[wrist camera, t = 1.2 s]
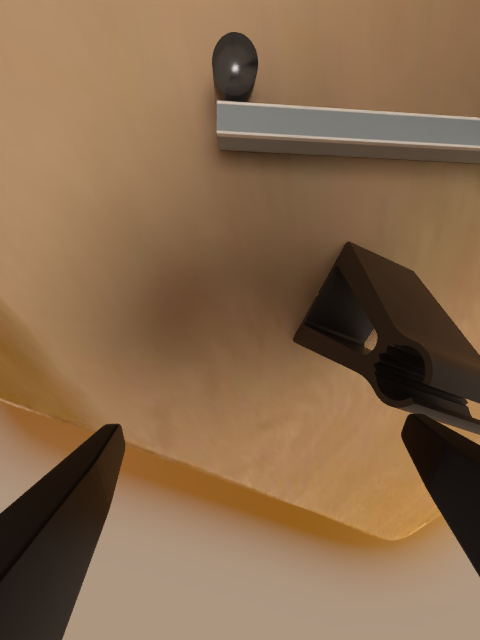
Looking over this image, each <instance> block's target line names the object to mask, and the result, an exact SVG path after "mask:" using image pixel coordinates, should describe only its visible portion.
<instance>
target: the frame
mask: <svg viewBox="0 0 480 640" xmlns="http://www.w3.org/2000/svg"><path fill="white" fill-rule="evenodd" d="M212 67H213V78H214V88H215V99H216V107H217V101H231V102H247V103H250V99H251V95H252V91H253V87H254V83H255V78H256V74H257V70H258V57H257V53H256V50H255V47H254V45H253V44H252V42H251V41H250V40H249V38H248V37H246V36H245V35H243V34H241V33H238V32H231V33H228V34H226V35H224V36H223V37H222V38H221V39H220V40H219V41H218V42H217V44H216V46H215V49H214V52H213V57H212Z"/></svg>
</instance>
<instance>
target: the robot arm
mask: <svg viewBox="0 0 480 640" xmlns="http://www.w3.org/2000/svg"><path fill="white" fill-rule="evenodd" d="M401 437H402V440H403V442H404V444H405V446H406V448H407V450H408V452H409V454H410V456H411V458H412V461H413V463H414V465H415V467H416V469H417V471H418V473H419V475H420V477H421V479H422V481H423V483H424V484H425V486H426V488H427V490H428V492H429V494H430V495H431V497H432V499H433V501H434V502H435V504H436V505H437V507H438V509H439V510H440V512H441V514H442V515H443V517H444V519H445V520H446V522H447V524H448V525H449V527H450V529H451V530H452V532H453V534H454V535H455V537H456V538H457V540H458V542H459V543H460V545H461V547H462V548H463V550H464V552H465V553H466V555H467V557H468V558H469V560H470V561H471V563H472V565H473V567H474V568H475V570H476V572H477V573H478V575H479V576H480V445H478V444H477V443H475V442H473V441H471V440H469V439H468V438H466V437H464V436H462V435H460V434H459V433H457V432H455V431H453V430H451V429H450V428H448V427H446V426H444V425H442V424H441V423H439V422H437V421H435V420H433V419H432V418H430V417H428V416H426V415H424V414H409V415H408V416H407V418H406V421H405V424H404V426H403V429H402V432H401ZM124 452H125V440H124V436H123V431H122V427H121V425H120V424H106V425H104V426H103V427H101V428H100V429H99V430H98V431H97V432H95V433H94V434H93V435H92V436H91V437H90V438H88V439H87V440H86V441H85V442H84V443H83V444H81V445H80V446H79V447H78V448H77V449H76V450H75V451H73V452H72V453H71V454H70V455H69V456H67V457H66V458H65V459H64V460H63V461H62V462H60V463H59V464H58V465H57V466H56V467H54V468H53V469H52V470H51V471H50V472H49V473H47V475H45V476H44V477H43V478H42V479H40V480H39V481H38V482H37V483H36V484H35V485H33V486H32V487H31V488H30V489H29V490H28V491H26V492H25V493H24V494H23V495H22V496H20V497H19V498H18V499H17V500H16V501H15V502H13V503H12V504H11V505H10V506H9V507H8V508H6V509H5V510H4V511H3V512H2V513H0V640H62V638H63V635H64V633H65V630H66V627H67V624H68V622H69V619H70V616H71V614H72V611H73V608H74V605H75V602H76V600H77V597H78V594H79V592H80V589H81V586H82V583H83V581H84V578H85V575H86V572H87V570H88V567H89V564H90V561H91V559H92V556H93V553H94V550H95V548H96V545H97V542H98V539H99V537H100V534H101V531H102V528H103V526H104V523H105V520H106V518H107V515H108V512H109V509H110V505H111V502H112V498H113V494H114V491H115V487H116V483H117V479H118V475H119V471H120V467H121V463H122V459H123V456H124Z"/></svg>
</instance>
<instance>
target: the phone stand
mask: <svg viewBox="0 0 480 640" xmlns="http://www.w3.org/2000/svg"><path fill="white" fill-rule="evenodd" d="M373 329H375V330H376V332H377V336H378V340H377V344H376V346H375V348H374V349H373V350H370V349H367V348H365V347H364V342H365V341H366V339H367V338H368V336H369V335H370V333H371V332H372V330H373ZM293 341H294V342H295V343H297V344H299V345H301V346H303V347H305V348H307V349H310V350H312V351H314V352H316V353H318V354H320V355H322V356H324V357H326V358H328V359H330V360H332V361H335V362H337V363H339V364H341V365H343V366H345V367H347V368H349V369H351V370H353V371H355V372H357V373H359V374H361V375H362V376H363V377H364V378H365V379H366V380H367V381H368V382H369V383H370V385H371V386H372V388H373V389H374V391H375V393H376V395H377V396H378V398H379V399H380V400H381V401H382V402H384V403H385V404H387V405H389V406H391V407H394V408H398V409H401V410H404V411H407V412H410V413H413V414H424V415H426V416H428V417H430V418H432V419H433V420H435V421H438V422H441V423H445V424H448V425H451V426H454V427H457V428H460V429H463V430H466V431H470V432H473V433H476V434H479V435H480V420H478V419H475V418H472V416H471V414H470V412H469V408H468V407H467V406H466V404H467V403H468V402H467V400H466V399H469V400H471V401H474V402H477V403H480V355H479V354H478V353H477V351H476V350H475V349H474V348H473V346H472V345H471V344H470V343H469V341H468V340H467V339H466V337H465V336H464V335H463V334H462V332H461V331H460V330H459V329H458V327H457V326H456V325H455V323H454V322H453V321H452V320H451V318H450V317H449V316H448V315H447V313H446V312H445V311H444V309H443V308H442V307H441V306H440V304H439V303H438V302H437V301H436V299H435V298H434V297H433V295H432V294H431V293H430V292H429V290H428V289H427V288H426V287H425V285H424V284H423V283H422V281H421V280H420V279H419V278H418V276H417V275H416V274H415V273H414V271H412V270H409V269H407V268H405V267H403V266H401V265H399V264H396V263H394V262H392V261H390V260H388V259H386V258H384V257H381V256H379V255H377V254H375V253H373V252H371V251H368V250H366V249H364V248H362V247H360V246H358V245H355V244H353V243H351V242H347V243H346V244H345V246H344V248H343V249H342V251H341V253H340V255H339V257H338V259H337V260H336V262H335V264H334V266H333V268H332V269H331V271H330V273H329V275H328V277H327V278H326V280H325V282H324V284H323V286H322V287H321V289H320V291H319V295H318V296H316V298H315V300H314V302H313V304H312V306H311V307H310V309H309V311H308V313H307V315H306V316H305V318H304V320H303V322H302V324H301V325H300V327H299V329H298V331H297V333H296V334H295V336H294V339H293ZM465 398H466V399H465Z"/></svg>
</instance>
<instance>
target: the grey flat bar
mask: <svg viewBox="0 0 480 640" xmlns="http://www.w3.org/2000/svg"><path fill="white" fill-rule="evenodd" d="M217 137H218V146H219V150H234V151H253V152H272V153H291V154H310V155H329V156H347V157H366V158H385V159H404V160H423V161H442V162H461V163H480V118H477V117H462V116H446V115H431V114H416V113H400V112H385V111H370V110H354V109H339V108H323V107H308V106H293V105H277V104H262V103H247V102H231V101H217Z"/></svg>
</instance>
